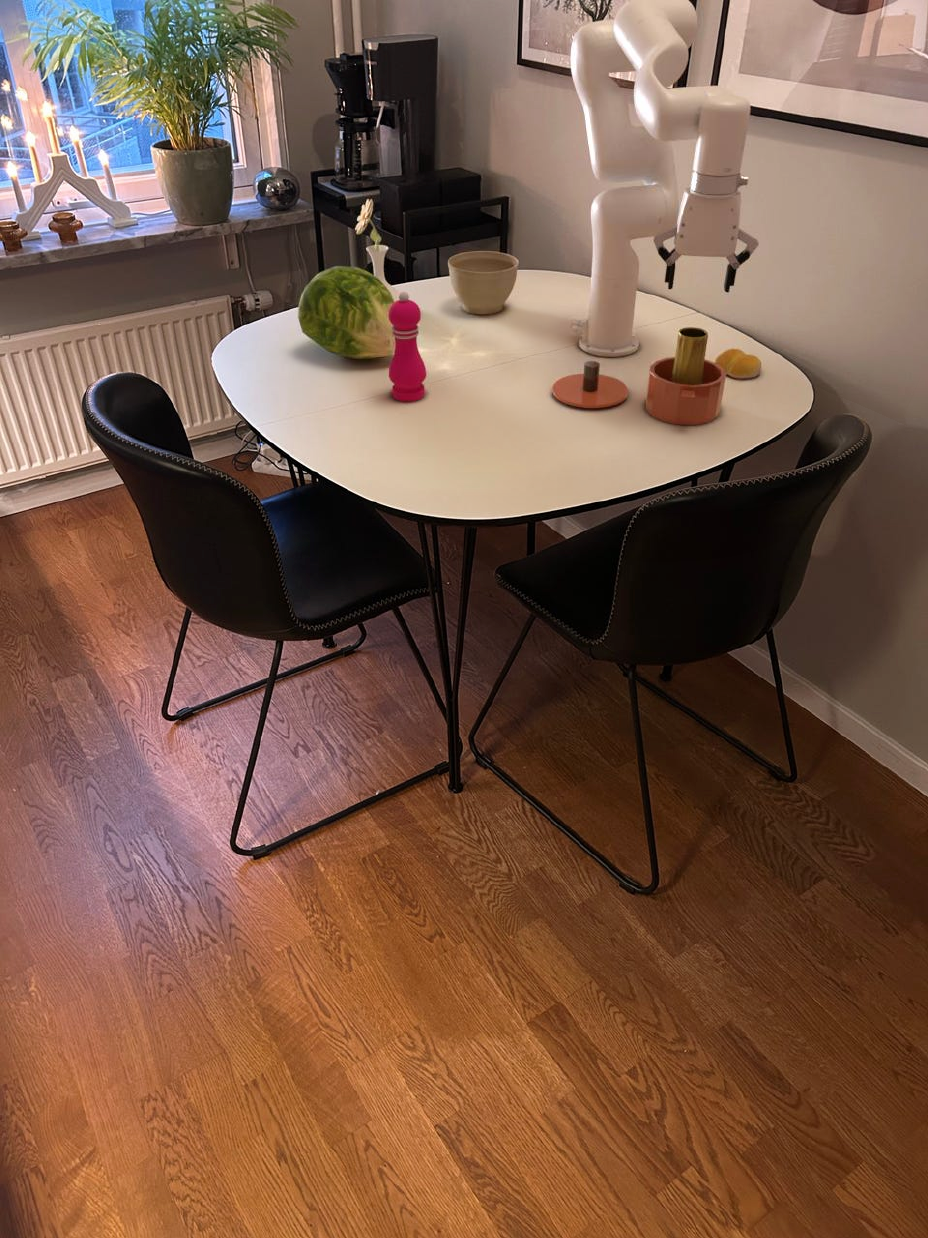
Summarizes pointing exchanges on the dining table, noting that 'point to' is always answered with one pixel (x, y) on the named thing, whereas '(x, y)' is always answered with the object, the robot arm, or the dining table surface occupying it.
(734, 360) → the bread roll
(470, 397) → the dining table surface
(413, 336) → the pepper mill
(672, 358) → the crock
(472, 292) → the planter bowl
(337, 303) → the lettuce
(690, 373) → the vase
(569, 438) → the dining table surface
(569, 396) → the crock lid
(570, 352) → the dining table surface
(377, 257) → the flower in vase
